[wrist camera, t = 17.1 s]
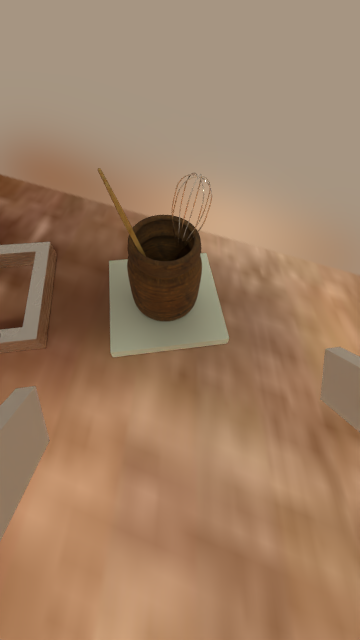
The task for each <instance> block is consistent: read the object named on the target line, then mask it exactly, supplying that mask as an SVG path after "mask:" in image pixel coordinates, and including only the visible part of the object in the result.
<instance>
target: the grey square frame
mask: <svg viewBox="0 0 360 640" xmlns="http://www.w3.org/2000/svg"><path fill="white" fill-rule="evenodd" d="M56 258H57V254H56V252H55V250H54V248H53V246H52V244H51V243H50V242H39V243H24V244H10V245H0V268H1V267H14V266H27V265H33V271H32V276H31V282H30V288H29V293H28V299H27V305H26V310H25V316H24V322H23V327H20V328H11V329H1V330H0V353H6V352H15V351H23V350H32V349H41V348H46V342H47V333H48V325H49V317H50V308H51V300H52V292H53V283H54V275H55V267H56Z"/></svg>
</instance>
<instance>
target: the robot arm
mask: <svg viewBox="0 0 360 640" xmlns="http://www.w3.org/2000/svg"><path fill="white" fill-rule="evenodd" d="M320 399H321V400H322V401H323V402H324V403H326V404H327V405H328V406H329V407H330V408H332V409H333V410H334V411H335V412H336V413H337V414H339V415H340V416H341V417H342V418H343V419H345V420H346V421H347V422H348V423H349V424H351V425H352V426H353V427H354V428H355V429H356V430H358V431H359V432H360V357H359V356H357V355H355V354H353V353H351V352H349V351H347V350H345V349H343V348H341V347H335V348H328V349H325V357H324V367H323V378H322V388H321V398H320ZM49 441H50V440H49V436H48V432H47V428H46V425H45V421H44V417H43V413H42V409H41V405H40V401H39V397H38V394H37V390H36V386H32V387H24V388H16V389H15V390H14V391H13V392H12V394H11V395H10V396H9V397H8V398H7V399H6V400H5V401H4V402H3V403H2V404H1V406H0V541H1V539H2V537H3V535H4V533H5V531H6V528H7V526H8V524H9V522H10V520H11V518H12V516H13V514H14V512H15V510H16V508H17V506H18V504H19V502H20V500H21V498H22V496H23V494H24V492H25V490H26V488H27V486H28V484H29V482H30V480H31V478H32V475H33V473H34V471H35V469H36V467H37V465H38V463H39V461H40V459H41V457H42V455H43V453H44V451H45V449H46V447H47V445H48V443H49Z"/></svg>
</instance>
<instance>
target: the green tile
mask: <svg viewBox="0 0 360 640" xmlns="http://www.w3.org/2000/svg"><path fill="white" fill-rule="evenodd" d="M200 256H201V260H202V274H201V281H200V286H199V292H198V296H197V300H196V302H195V305H194V306H193V308H192V309H191V311H190V312H189V313H187V314H186V315H185V316H183V317H182V318H180V319H177V320H173V321H157V320H153V319H151V318H149V317H147V316H145V315H144V314H143V313H142V312H141V311H140V310H139V309H138V307H137V306H136V304H135V302H134V299H133V296H132V292H131V287H130V282H129V277H128V270H127V261H128V259H125V260H112V261H109V288H110V353H111V355H112V357H120V356H128V355H136V354H144V353H153V352H161V351H169V350H177V349H186V348H194V347H202V346H210V345H219V344H227V342H228V340H229V335H228V332H227V328H226V324H225V321H224V317H223V313H222V309H221V306H220V302H219V298H218V295H217V291H216V287H215V283H214V280H213V276H212V272H211V269H210V265H209V261H208V258H207V254H206V253H201V254H200Z"/></svg>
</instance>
